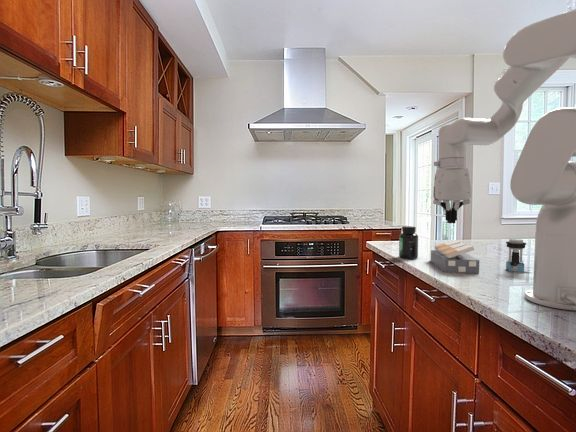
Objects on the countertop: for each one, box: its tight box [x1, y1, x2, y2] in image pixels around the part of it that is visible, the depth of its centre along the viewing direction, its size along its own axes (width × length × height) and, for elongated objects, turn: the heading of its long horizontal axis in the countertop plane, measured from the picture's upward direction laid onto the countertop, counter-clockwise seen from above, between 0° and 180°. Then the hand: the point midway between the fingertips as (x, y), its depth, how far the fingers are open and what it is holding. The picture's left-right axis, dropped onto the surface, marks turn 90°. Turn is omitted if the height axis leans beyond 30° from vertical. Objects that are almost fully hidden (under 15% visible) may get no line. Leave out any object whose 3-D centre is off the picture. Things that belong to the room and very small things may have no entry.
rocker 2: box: [439, 241, 468, 254], centre depth 113 cm, size 4×8×1 cm, turn 80°
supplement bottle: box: [398, 225, 419, 260], centre depth 129 cm, size 7×7×12 cm
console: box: [430, 249, 480, 274], centre depth 113 cm, size 18×10×5 cm, turn 170°
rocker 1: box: [434, 239, 462, 251], centre depth 119 cm, size 4×8×1 cm, turn 80°
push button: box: [505, 238, 531, 273], centre depth 106 cm, size 7×5×10 cm
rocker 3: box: [444, 244, 475, 258], centre depth 107 cm, size 4×8×1 cm, turn 80°
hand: (451, 222), depth 106 cm, fingers closed
